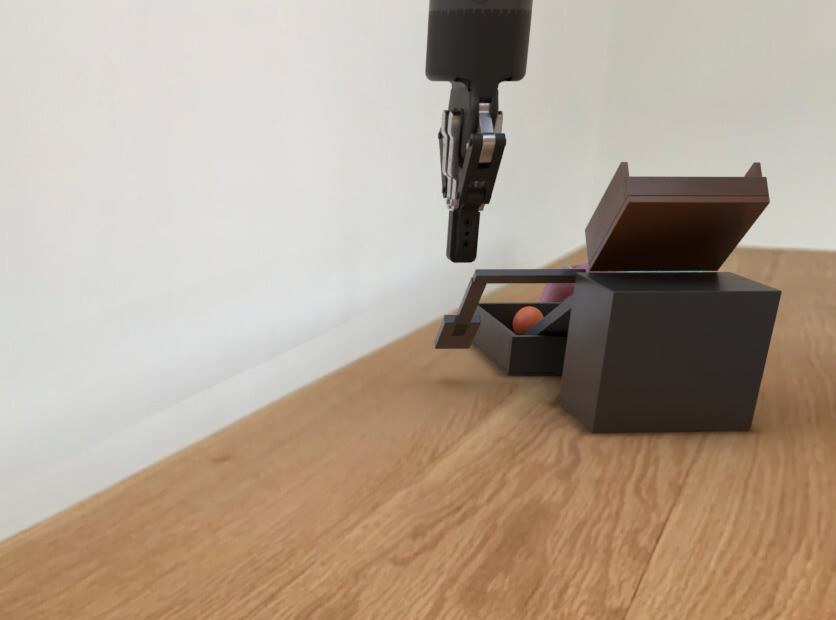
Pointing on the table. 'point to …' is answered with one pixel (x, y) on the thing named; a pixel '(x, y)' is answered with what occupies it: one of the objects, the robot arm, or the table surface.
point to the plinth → (666, 351)
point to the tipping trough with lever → (639, 235)
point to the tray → (518, 341)
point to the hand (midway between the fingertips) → (460, 261)
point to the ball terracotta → (526, 319)
